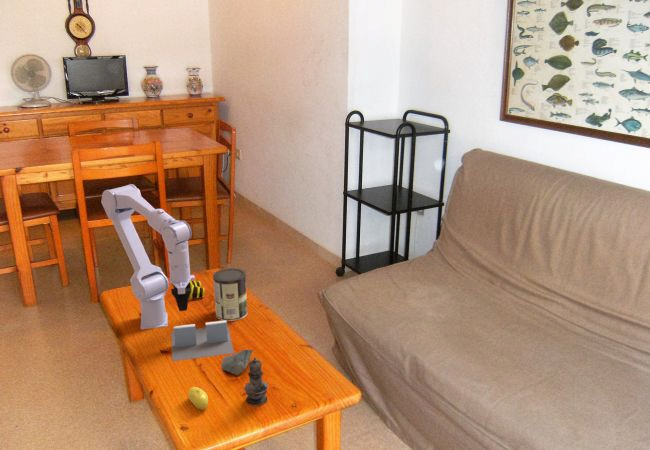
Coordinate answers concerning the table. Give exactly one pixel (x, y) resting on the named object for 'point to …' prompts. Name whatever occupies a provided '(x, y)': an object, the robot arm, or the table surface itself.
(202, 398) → the lemon
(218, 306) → the coffee can
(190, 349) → the mat
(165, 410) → the table surface
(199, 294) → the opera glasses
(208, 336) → the tile
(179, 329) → the tile
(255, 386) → the dark chess piece
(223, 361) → the stone
